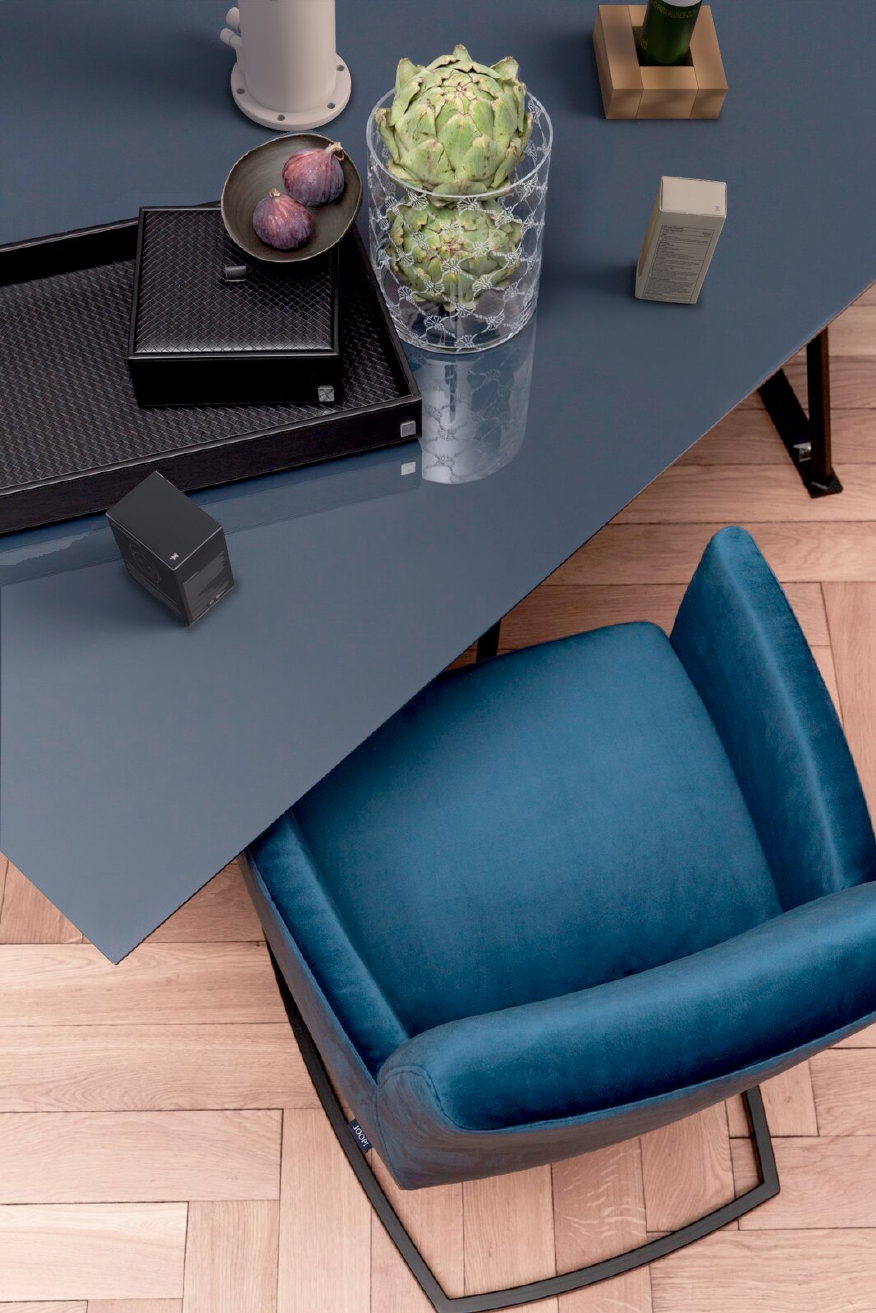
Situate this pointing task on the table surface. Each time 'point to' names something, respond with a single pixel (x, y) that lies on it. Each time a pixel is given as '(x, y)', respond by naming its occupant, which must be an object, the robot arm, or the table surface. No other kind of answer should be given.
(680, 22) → the beer can
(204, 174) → the table surface
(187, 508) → the box
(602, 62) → the holder
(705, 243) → the cosmetic box
